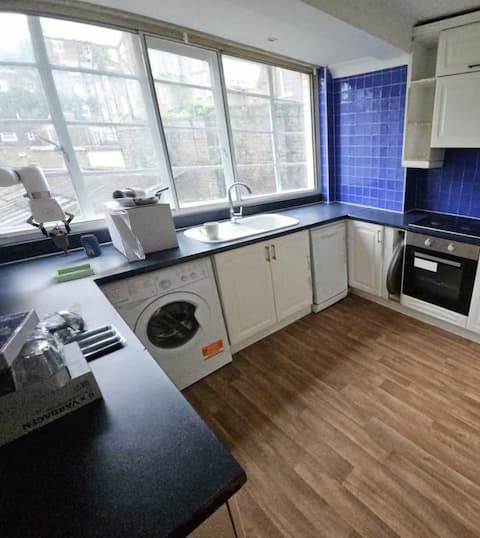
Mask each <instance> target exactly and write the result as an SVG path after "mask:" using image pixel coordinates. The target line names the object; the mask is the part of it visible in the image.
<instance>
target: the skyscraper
mask: <svg viewBox="0 0 480 538" xmlns="http://www.w3.org/2000/svg"><path fill="white" fill-rule="evenodd" d="M123 211H124V212H123ZM109 215H110V217H111V219H112V222H113V224H114V226H115V228H116V229H117V232H118V233H119V236H120V240H121V244H122V247H123V249H124V252H125V254H126V257H127V260H128V261H129V263H133V262H138V261H144V260H146V255H145V251H144V249H143V247H142V244H141V242H140V240H139V238H138V235H137V234H135V235H134V233H133V231H132V225H131V219H130V216H129V211H127V209H123V208H122V209H121V208H120V209H117V210H116V211H113V212H110V213H109Z"/></svg>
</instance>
